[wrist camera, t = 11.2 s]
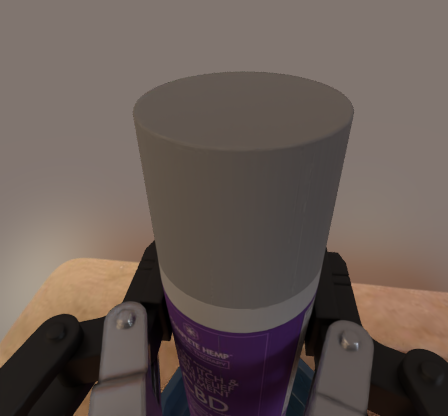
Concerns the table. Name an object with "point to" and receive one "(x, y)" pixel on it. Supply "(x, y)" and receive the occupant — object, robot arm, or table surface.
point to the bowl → (179, 409)
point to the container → (241, 225)
